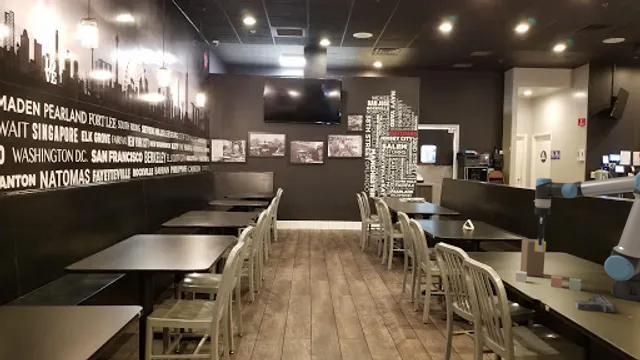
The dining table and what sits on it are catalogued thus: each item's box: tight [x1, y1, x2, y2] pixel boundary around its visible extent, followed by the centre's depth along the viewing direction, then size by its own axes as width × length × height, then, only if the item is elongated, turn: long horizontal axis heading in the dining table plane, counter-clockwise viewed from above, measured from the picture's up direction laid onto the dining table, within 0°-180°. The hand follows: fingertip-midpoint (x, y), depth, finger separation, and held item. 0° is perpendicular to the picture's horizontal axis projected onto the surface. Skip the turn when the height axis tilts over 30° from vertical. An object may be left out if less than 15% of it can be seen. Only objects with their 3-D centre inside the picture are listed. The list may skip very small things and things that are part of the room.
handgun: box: [574, 293, 616, 313], centre depth 206 cm, size 4×20×15 cm
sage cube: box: [568, 277, 582, 292], centre depth 234 cm, size 5×5×5 cm
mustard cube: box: [535, 241, 547, 253], centre depth 243 cm, size 5×5×5 cm
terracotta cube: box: [550, 275, 563, 289], centre depth 238 cm, size 5×5×5 cm
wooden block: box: [519, 238, 546, 278], centre depth 263 cm, size 10×10×20 cm
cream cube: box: [515, 270, 528, 284], centre depth 247 cm, size 5×5×5 cm
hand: (540, 250), depth 243 cm, fingers closed on mustard cube, 5 cm apart
